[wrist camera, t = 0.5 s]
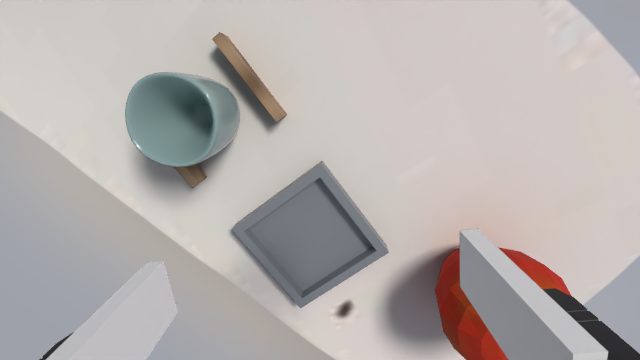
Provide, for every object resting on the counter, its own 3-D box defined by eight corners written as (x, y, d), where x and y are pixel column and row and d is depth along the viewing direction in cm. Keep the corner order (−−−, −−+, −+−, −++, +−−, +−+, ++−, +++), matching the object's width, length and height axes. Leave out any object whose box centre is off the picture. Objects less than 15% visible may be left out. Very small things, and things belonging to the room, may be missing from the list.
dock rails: (140, 112, 36) (127, 113, 34) (227, 36, 34) (219, 32, 31) (200, 181, 38) (192, 187, 36) (286, 114, 36) (283, 116, 33)
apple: (398, 274, 40) (432, 366, 27) (465, 202, 38) (540, 264, 24) (471, 325, 42) (538, 436, 28) (540, 259, 39) (651, 348, 26)
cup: (252, 83, 35) (222, 80, 25) (244, 153, 37) (213, 175, 27) (180, 70, 35) (123, 63, 25) (176, 141, 37) (122, 159, 27)
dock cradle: (236, 223, 39) (231, 229, 37) (322, 160, 37) (321, 164, 35) (301, 298, 42) (300, 308, 40) (385, 244, 39) (388, 252, 37)
